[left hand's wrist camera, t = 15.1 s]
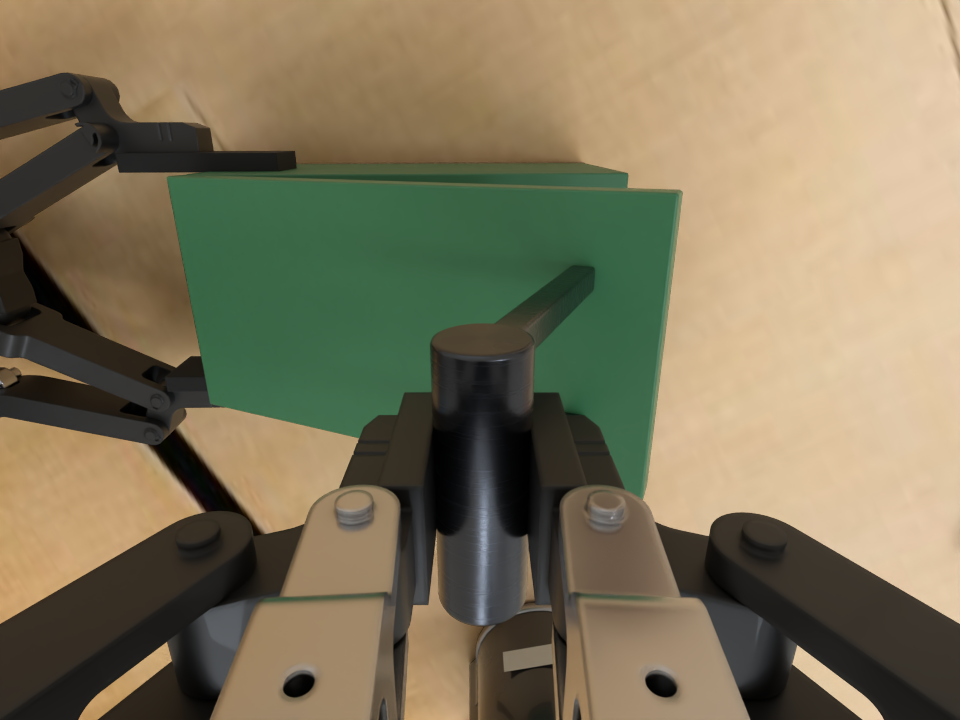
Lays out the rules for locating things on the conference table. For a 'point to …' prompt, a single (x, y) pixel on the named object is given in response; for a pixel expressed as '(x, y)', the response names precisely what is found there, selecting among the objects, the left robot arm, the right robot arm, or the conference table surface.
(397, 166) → the chest
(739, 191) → the conference table surface
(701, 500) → the conference table surface
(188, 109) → the conference table surface
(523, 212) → the lid
